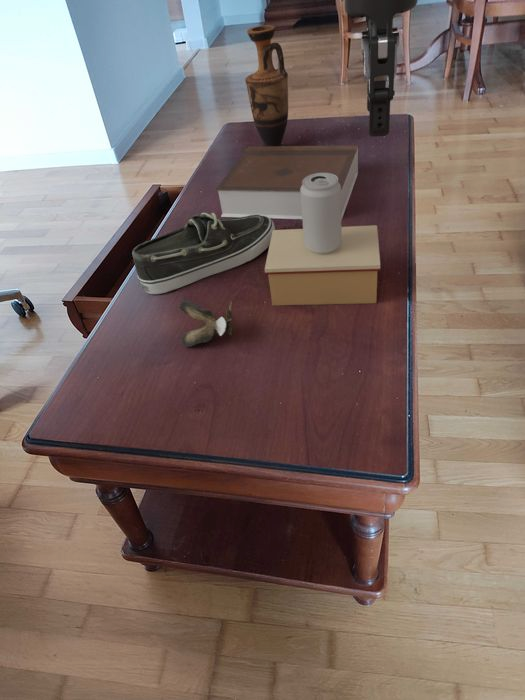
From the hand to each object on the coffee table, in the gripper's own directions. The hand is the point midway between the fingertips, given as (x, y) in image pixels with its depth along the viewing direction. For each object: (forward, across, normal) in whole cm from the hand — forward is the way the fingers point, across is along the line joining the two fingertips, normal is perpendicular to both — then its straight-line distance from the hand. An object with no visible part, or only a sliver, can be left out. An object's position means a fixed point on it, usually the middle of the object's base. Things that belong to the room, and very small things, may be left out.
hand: (377, 122), depth 62 cm
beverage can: (+24, +12, +8) cm, 28 cm away
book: (+32, +50, +17) cm, 62 cm away
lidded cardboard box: (+32, +12, +8) cm, 35 cm away
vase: (+32, +76, +24) cm, 86 cm away
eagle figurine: (+32, -2, +27) cm, 42 cm away
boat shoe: (+32, +21, +31) cm, 50 cm away
